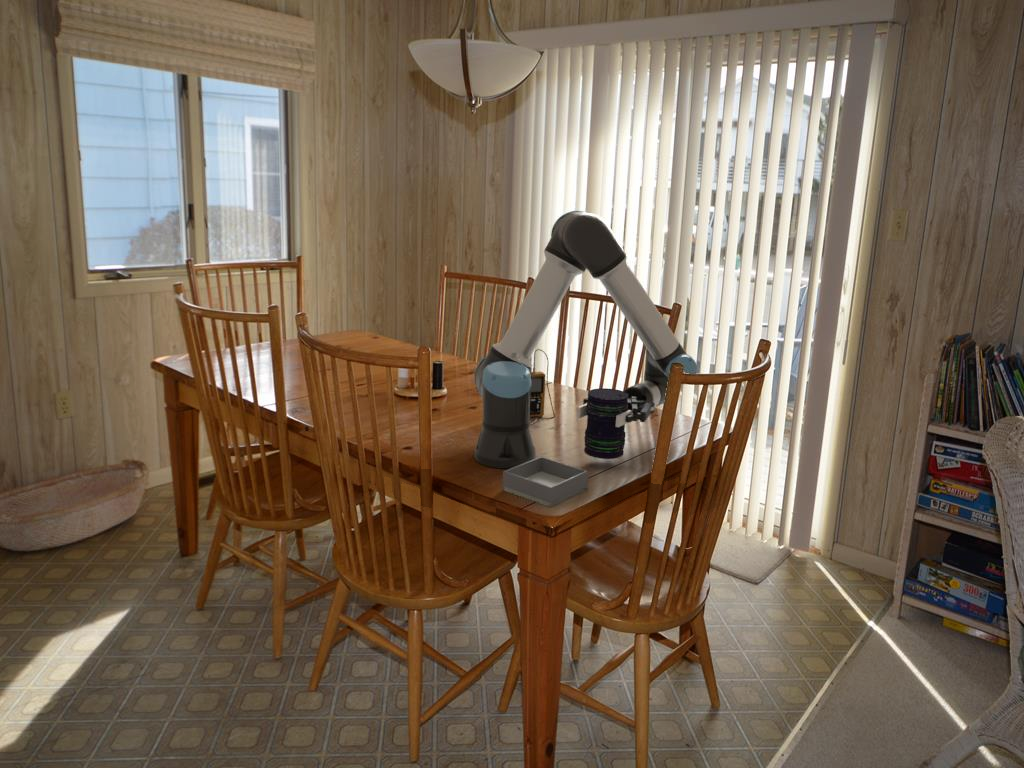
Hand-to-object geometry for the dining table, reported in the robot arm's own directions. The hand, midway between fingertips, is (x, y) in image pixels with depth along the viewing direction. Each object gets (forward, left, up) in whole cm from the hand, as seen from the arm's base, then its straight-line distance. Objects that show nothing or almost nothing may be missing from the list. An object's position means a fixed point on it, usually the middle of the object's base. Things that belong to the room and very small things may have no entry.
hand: (597, 417), depth 186 cm
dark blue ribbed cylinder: (0, +4, -10) cm, 11 cm away
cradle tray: (0, -19, -13) cm, 23 cm away
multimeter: (-35, +20, -13) cm, 43 cm away
